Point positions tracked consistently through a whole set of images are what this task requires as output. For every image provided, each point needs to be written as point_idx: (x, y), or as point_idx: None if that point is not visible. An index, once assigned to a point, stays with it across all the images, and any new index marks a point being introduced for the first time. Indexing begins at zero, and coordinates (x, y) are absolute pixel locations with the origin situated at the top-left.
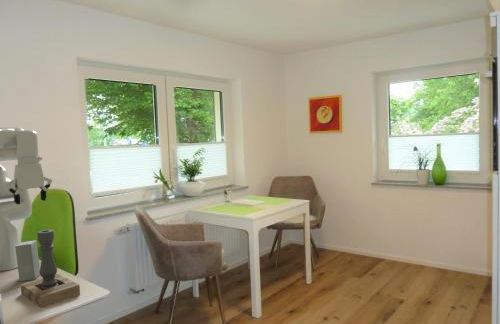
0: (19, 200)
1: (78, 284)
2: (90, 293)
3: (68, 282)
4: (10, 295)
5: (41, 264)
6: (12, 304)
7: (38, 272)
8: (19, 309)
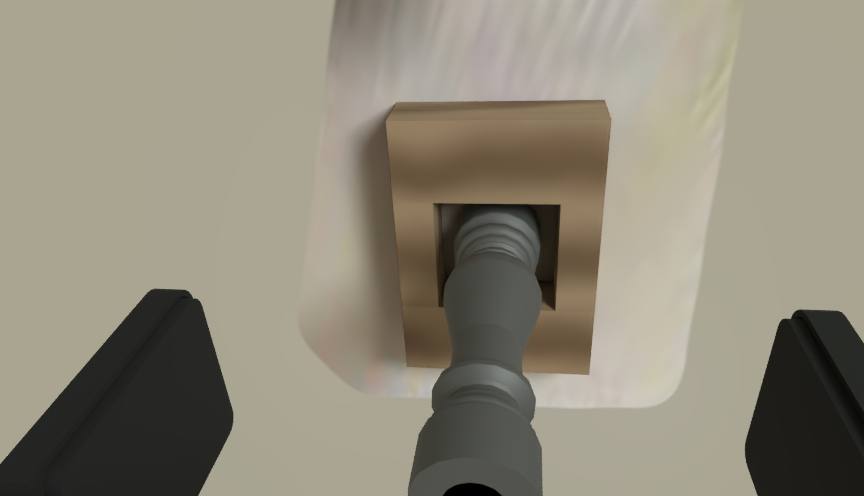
0: (190, 490)
1: (587, 370)
2: (621, 364)
3: (571, 310)
4: (349, 66)
5: (449, 329)
6: (332, 202)
7: None
8: (344, 280)
